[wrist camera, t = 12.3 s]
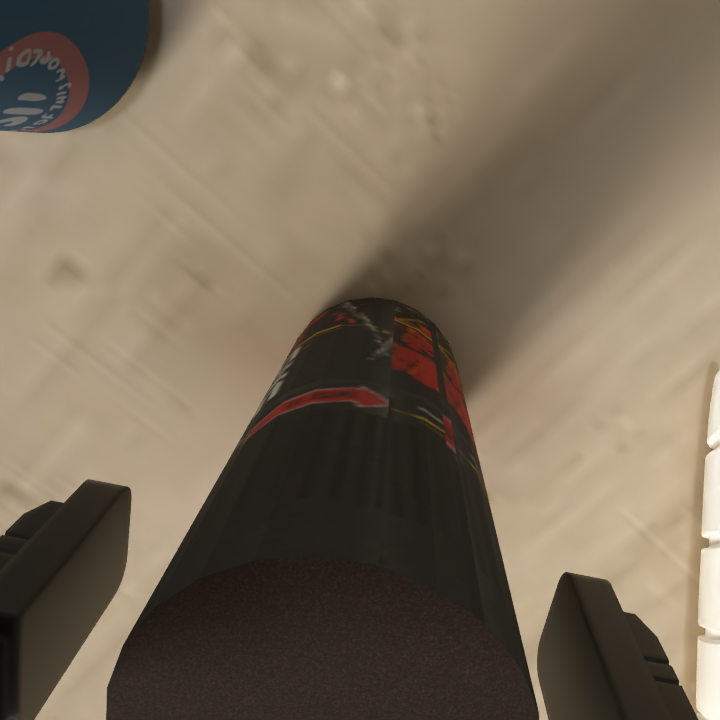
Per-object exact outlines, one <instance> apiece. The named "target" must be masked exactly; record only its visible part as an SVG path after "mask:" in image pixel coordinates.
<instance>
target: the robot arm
mask: <svg viewBox="0 0 720 720" xmlns="http://www.w3.org/2000/svg"><path fill="white" fill-rule="evenodd" d="M130 512H131V490H130V488H129V487H126V486H121V485H116V484H111V483H105V482H100V481H95V480H90V479H89V480H86V481H85V482H84V483H83V484H82V485H81V486H80V487H79V488H78V489H77V490H76V491H75V492H74V493H73V494H72V495H71V496H70V497H69V498H68V499H67V500H66V502H65V503H61V502H56V501H49V502H47V503H45V504H43V505H41V506H39V507H37V508H35V509H33V510H31V511H29V512H27V513H25V514H23V515H22V516H21V517H20V518H19V519H18V520H17V521H16V522H15V523H14V524H13V525H12V526H11V527H10V528H9V529H8V530H7V531H6V533H5V535H2V536H1V537H0V720H34V719H35V718H36V716H37V714H38V713H39V711H40V710H41V708H42V707H43V705H44V704H45V702H46V701H47V699H48V697H49V696H50V694H51V693H52V691H53V690H54V688H55V687H56V685H57V684H58V682H59V680H60V679H61V677H62V676H63V674H64V673H65V671H66V670H67V668H68V667H69V665H70V663H71V662H72V660H73V659H74V657H75V656H76V654H77V653H78V651H79V650H80V648H81V646H82V645H83V643H84V642H85V640H86V639H87V637H88V636H89V634H90V633H91V631H92V629H93V628H94V626H95V625H96V623H97V622H98V620H99V619H100V617H101V616H102V614H103V612H104V611H105V609H106V608H107V606H108V605H109V603H110V602H111V600H112V599H113V597H114V595H115V594H116V592H117V590H118V588H119V586H120V583H121V581H122V578H123V575H124V571H125V567H126V562H127V552H128V539H129V525H130ZM537 671H538V678H539V682H540V686H541V690H542V694H543V699H544V703H545V707H546V711H547V715H548V719H549V720H698V718H697V716H696V714H695V712H694V710H693V708H692V706H691V704H690V702H689V700H688V698H687V696H686V694H685V692H684V690H683V688H682V686H679V680H678V678H677V676H676V674H675V672H674V670H673V668H672V666H670V665H669V660H668V658H667V656H666V654H665V652H664V650H663V648H662V646H661V644H660V642H659V640H658V638H657V636H656V635H655V634H654V633H653V632H652V631H651V630H650V629H649V628H648V627H647V626H646V625H645V624H644V623H643V622H642V621H641V620H640V619H639V618H638V617H637V616H636V615H635V614H631V613H626V612H623V610H622V608H621V606H620V603H619V601H618V599H617V597H616V595H615V592H614V590H613V588H612V586H611V584H610V582H609V581H607V580H605V579H600V578H594V577H589V576H584V575H579V574H574V573H568V572H565V573H564V574H563V575H562V576H561V578H560V580H559V583H558V585H557V589H556V592H555V595H554V598H553V601H552V604H551V607H550V610H549V613H548V616H547V619H546V623H545V626H544V629H543V632H542V635H541V638H540V642H539V647H538V655H537Z"/></svg>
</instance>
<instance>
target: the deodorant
mask: <svg viewBox="0 0 720 720" xmlns="http://www.w3.org/2000/svg"><path fill="white" fill-rule="evenodd" d="M106 720H539V712H538V707H537V703H536V699H535V695H534V690H533V686H532V682H531V678H530V674H529V669H528V665H527V661H526V657H525V652H524V648H523V644H522V640H521V636H520V631H519V627H518V623H517V619H516V614H515V610H514V606H513V602H512V598H511V593H510V589H509V585H508V581H507V576H506V572H505V568H504V564H503V560H502V555H501V551H500V547H499V543H498V538H497V534H496V530H495V526H494V522H493V517H492V513H491V509H490V505H489V500H488V496H487V492H486V488H485V484H484V479H483V475H482V471H481V467H480V462H479V458H478V454H477V450H476V446H475V441H474V437H473V433H472V429H471V424H470V420H469V416H468V412H467V407H466V403H465V399H464V395H463V391H462V386H461V382H460V378H459V374H458V369H457V365H456V362H455V359H454V356H453V354H452V351H451V349H450V346H449V343H448V342H447V340H446V339H445V337H444V336H443V335H442V333H441V332H440V331H439V329H438V328H437V327H436V325H435V324H434V323H432V322H431V321H430V320H429V319H427V318H426V317H425V316H424V315H422V314H421V313H420V312H418V311H417V310H415V309H413V308H410V307H408V306H406V305H403V304H401V303H399V302H396V301H391V300H384V299H377V298H367V299H358V300H350V301H347V302H345V303H342V304H340V305H337V306H334V307H332V308H329V309H328V310H326V311H325V312H324V313H322V314H321V315H320V316H318V317H317V318H316V319H314V320H313V321H311V323H310V324H309V325H308V326H307V328H306V329H305V330H304V331H303V333H302V334H301V335H300V337H299V338H298V339H297V341H296V343H295V345H294V346H293V348H292V350H291V352H290V353H289V355H288V357H287V359H286V360H285V362H284V364H283V366H282V367H281V369H280V371H279V373H278V374H277V376H276V378H275V380H274V381H273V383H272V385H271V387H270V388H269V390H268V392H267V394H266V395H265V397H264V399H263V401H262V403H261V404H260V406H259V408H258V410H257V411H256V413H255V415H254V417H253V418H252V420H251V422H250V424H249V425H248V427H247V429H246V431H245V432H244V434H243V436H242V438H241V439H240V441H239V443H238V445H237V446H236V448H235V450H234V452H233V453H232V455H231V457H230V459H229V460H228V462H227V464H226V466H225V467H224V469H223V471H222V473H221V474H220V476H219V478H218V480H217V482H216V483H215V485H214V487H213V489H212V490H211V492H210V494H209V496H208V497H207V499H206V501H205V503H204V504H203V506H202V508H201V510H200V511H199V513H198V515H197V517H196V518H195V520H194V522H193V524H192V525H191V527H190V529H189V531H188V532H187V534H186V536H185V538H184V539H183V541H182V543H181V545H180V546H179V548H178V550H177V552H176V553H175V555H174V557H173V559H172V561H171V562H170V564H169V566H168V568H167V569H166V571H165V573H164V575H163V576H162V578H161V580H160V582H159V583H158V585H157V587H156V589H155V590H154V592H153V594H152V596H151V597H150V599H149V601H148V603H147V604H146V606H145V608H144V610H143V611H142V613H141V615H140V617H139V618H138V620H137V622H136V624H135V625H134V627H133V629H132V631H131V632H130V634H129V636H128V638H127V640H126V641H125V643H124V645H123V647H122V650H121V652H120V655H119V658H118V660H117V663H116V666H115V668H114V671H113V674H112V676H111V679H110V682H109V684H108V687H107V713H106Z"/></svg>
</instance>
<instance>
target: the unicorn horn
mask: <svg viewBox="0 0 720 720" xmlns="http://www.w3.org/2000/svg"><path fill="white" fill-rule="evenodd" d="M707 444H708V445H709V446H710V448H711V449H713V450H712V451H711V452H710V453H709V454H708V455H707V456H706V458H705V472H704V490H703V510H702V537H705V538H708V539H709V547H707V548H703V549H702V550H701V565H700V583H699V608H698V624H699V626H701V627H703V628H705V634H702V635H699V636H698V643H697V680H696V708H697V710H698V711H699V713H697V714H696V716H697V718H698V720H720V369H719V371H718V373H717V375H716V377H715V379H714V385H713V390H712V396H711V405H710V413H709V421H708V431H707Z"/></svg>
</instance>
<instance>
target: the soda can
mask: <svg viewBox="0 0 720 720" xmlns="http://www.w3.org/2000/svg"><path fill="white" fill-rule="evenodd" d="M148 27H149V7H148V0H0V131H17V132H36V133H54V132H62V131H68V130H71V129H75V128H78V127H81V126H84V125H86V124H88V123H90V122H92V121H94V120H96V119H97V118H99V117H100V116H102V115H103V114H105V113H106V112H107V111H108V110H110V109H111V108H112V107H113V106H114V105H115V104H116V103H117V102H118V101H119V100H120V99H121V98H122V96H123V95H124V94H125V93H126V91H127V90H128V88H129V87H130V85H131V84H132V82H133V80H134V78H135V76H136V74H137V72H138V70H139V67H140V65H141V62H142V59H143V56H144V52H145V48H146V43H147V37H148Z"/></svg>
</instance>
